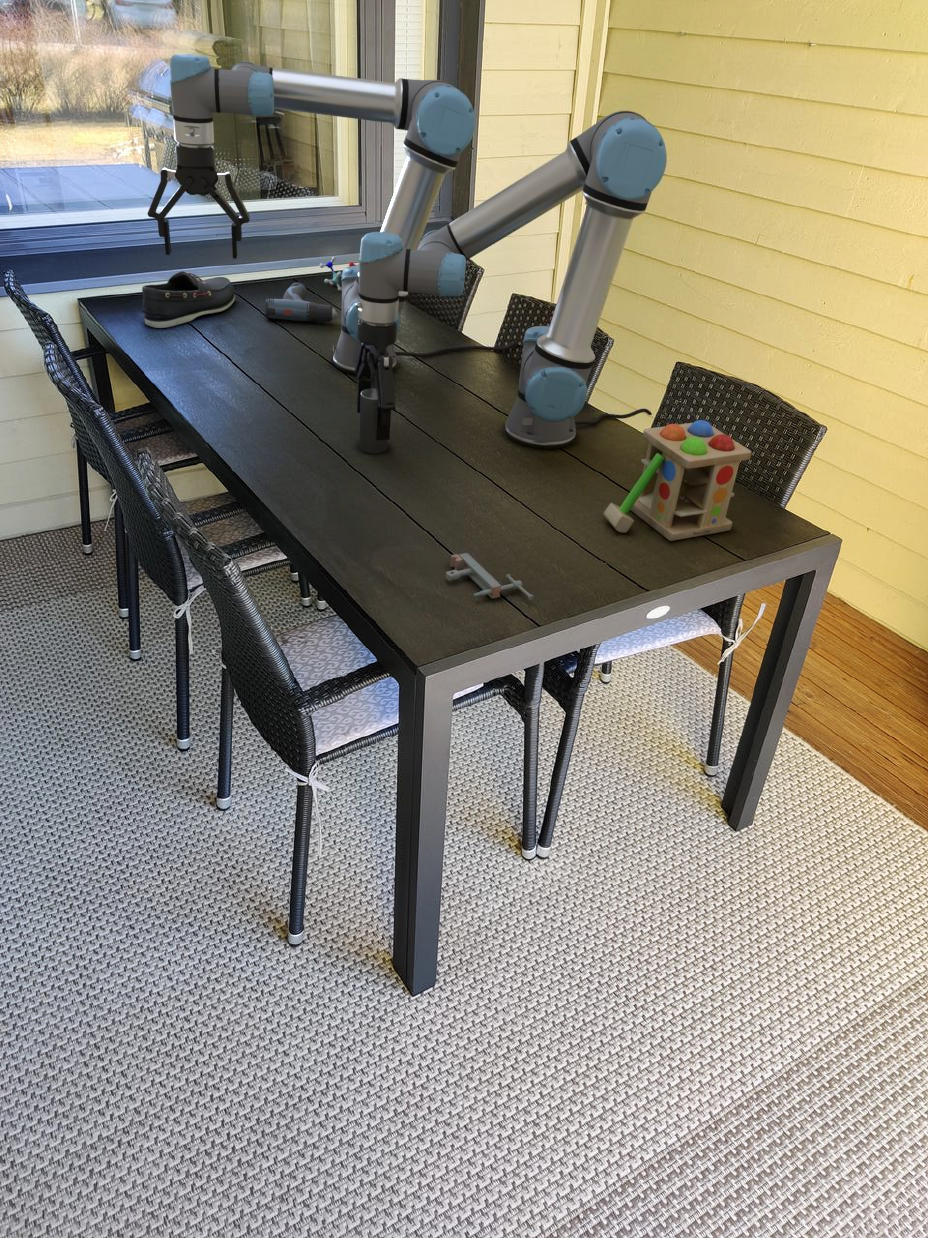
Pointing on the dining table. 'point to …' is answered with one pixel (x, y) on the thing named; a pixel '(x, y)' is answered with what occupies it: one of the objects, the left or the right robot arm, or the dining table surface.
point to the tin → (369, 423)
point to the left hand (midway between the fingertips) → (201, 255)
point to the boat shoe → (185, 299)
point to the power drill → (298, 307)
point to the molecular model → (335, 275)
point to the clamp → (480, 576)
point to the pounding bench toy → (683, 482)
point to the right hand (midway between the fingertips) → (372, 425)
